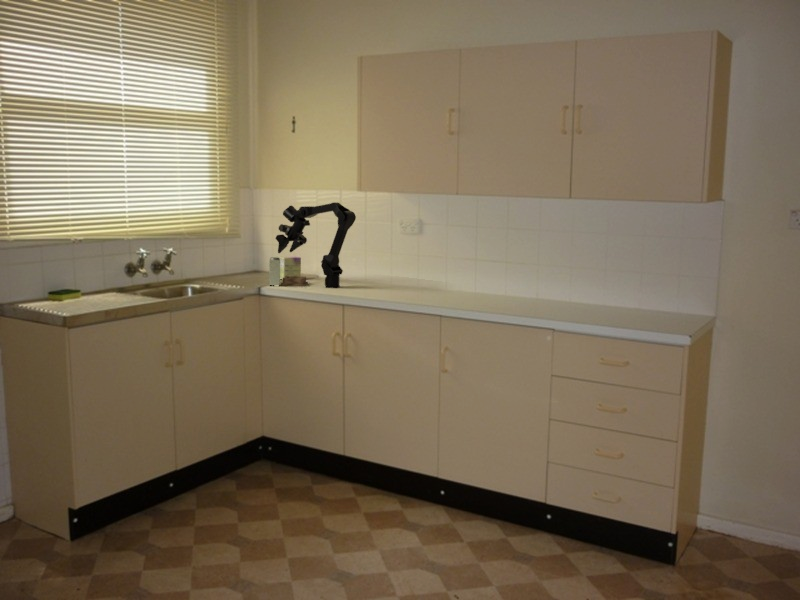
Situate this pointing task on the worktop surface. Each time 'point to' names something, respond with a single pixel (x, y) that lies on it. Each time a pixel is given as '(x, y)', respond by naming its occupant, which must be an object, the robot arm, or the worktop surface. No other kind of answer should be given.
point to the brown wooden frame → (294, 280)
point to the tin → (274, 271)
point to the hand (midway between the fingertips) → (284, 252)
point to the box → (290, 266)
